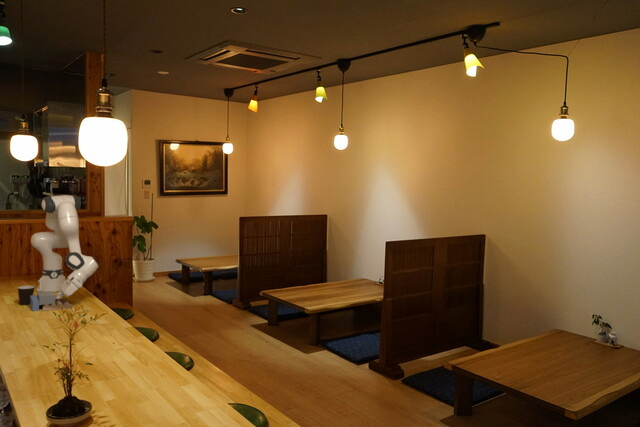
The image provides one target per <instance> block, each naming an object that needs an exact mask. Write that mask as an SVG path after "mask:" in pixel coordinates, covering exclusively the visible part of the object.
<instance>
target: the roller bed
mask: <svg viewBox="0 0 640 427" xmlns="http://www.w3.org/2000/svg"><path fill="white" fill-rule="evenodd" d="M41 306H42V312H47V310H51V311H57V310H58V309H59V311H60V309H61V306H62V307H63V309H61V310H68V309H72V308H73V303H70V302H69V300H68V297H60V298H59V299H57V298H56V297H55V304H45V305H41ZM64 308H65V309H64Z"/></svg>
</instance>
